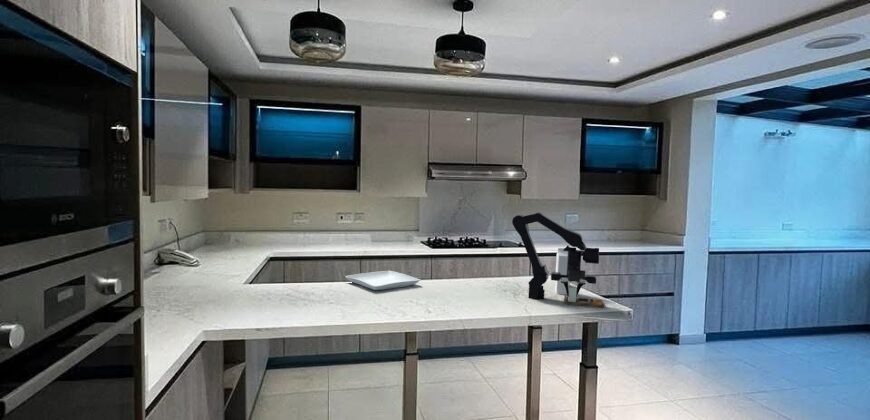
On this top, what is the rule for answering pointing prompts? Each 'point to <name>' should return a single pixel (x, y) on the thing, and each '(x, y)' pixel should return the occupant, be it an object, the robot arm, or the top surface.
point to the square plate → (382, 280)
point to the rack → (585, 302)
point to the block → (572, 293)
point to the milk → (561, 270)
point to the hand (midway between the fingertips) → (572, 297)
